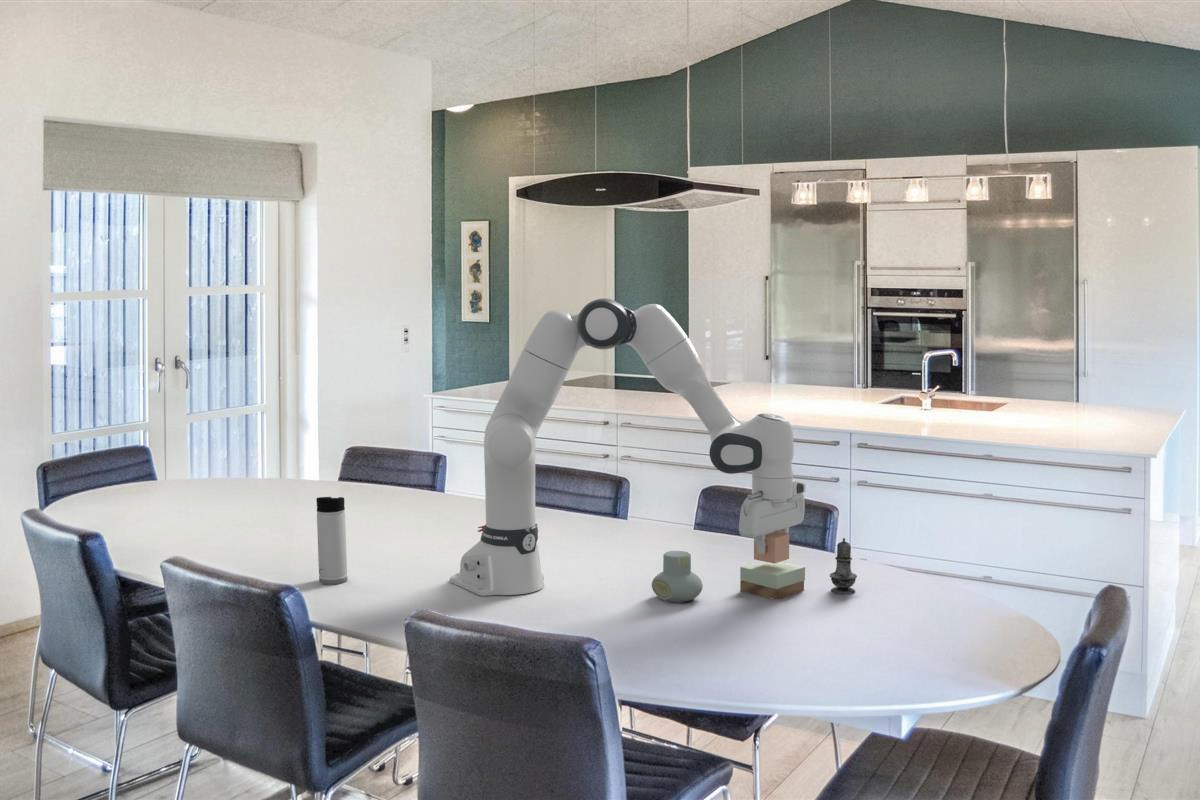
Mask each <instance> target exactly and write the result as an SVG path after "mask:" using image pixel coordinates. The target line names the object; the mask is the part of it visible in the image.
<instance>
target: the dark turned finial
mask: <svg viewBox="0 0 1200 800" xmlns="http://www.w3.org/2000/svg"><path fill="white" fill-rule="evenodd" d="M836 547H837V548H836V556H835V561H836V568H835V571H834V572H831V573H830V574H829V577H830V581H831V582H832V584H833V585H834V587H832V588H831V589H830V592H831V593H833V594H836V595H844V596H845V595H847V596H848V595H854V594H855V593H856V590H855V589H853V587H852V586H854V585H855V583H856V579H857V578H858V574H856V573H853V572H852V568H851V561H852V560H853V558H852V557H851V551H852V550H851V544H850V543H849V542H847V541H846V538H845V537H842V541H840V542H838V543H837V545H836Z"/></svg>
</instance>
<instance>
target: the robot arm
mask: <svg viewBox="0 0 1200 800" xmlns="http://www.w3.org/2000/svg"><path fill="white" fill-rule="evenodd" d="M625 344H626V345H628V346H630V347H632V348H633V349H634V350H635V352H636V354H638V355H639V356H640V359H641V360H642V362H643V363H644V365H645V367H647V369H648V371H649V373H650V374H651V375H652V376H653V377H654V379H656V381H657V382H658V383H659V384H660V385H661V386H662V387H663V388H664V389H666V390H667V391H670V392H672V393H675V394H676V395H679V396H680V397H682V398H683V399H684V400H686V401H687V402H688V404H689V405H690V406H691V408H692V409H693V411H694V412H695V414H696V415H697V417H698V418H699V420H701V422H702V424H703V425H704V426H705V428H706V429H707V431H708V433H709V436H710V439H711V444H710V446H709V458H710V459H709V460H710V461H711V464H712V465H713V466H714V468H715V469H717V470H718V471H719V472H721V473H724V474H730V475H734V474H741V473H746V472H752V473H751V477H752V478H751V493H749V494H747V495H746V498H745V499H744V500H743V502H742V504H741V507H740V512H739V513H740V514H739V522H738V524H739V525H738V531H739V534H740V536H741V537H745V538H751V539H753V541H754V540H755V542H756V544H757V552H758V553H759V554H765V553H767V552H768V550H767V549H768V545H765V542H764V539H765V537H766V534H768V533H771V532H779V533H785V534H789V532H790V527H794V526H798V525H800V524H802V523H803V521H804V518H805V508H806V507H805V499H806V498H805V495H804V493H806V486H807V485H806V483H805V482H801V481H797V480H795V479H794V472H793V468H792V463H793V459H794V431H793V427H792V424H791V423H790V421H789V420H788V419H787V418H785V417H783V416H780V415H777V414H772V413H758V414H756V415H755V416H754V417H752V418H751V419H750V420H748V421H745V422H744V423H743V422H742V421H740V420H738V419H737V418H736V417H735V416H734V415H732V413H731V412H730V411H729V409H728V408H727V406H726V405H725V403H724V402H723V401H722V399H721V398H720V396H719V395H718V393H717V392H716V391H715V389H714V388H713V385H711V382H710V380H709V378H708V376H707V374H706V371H705V368H704V366H703V362H702V361H701V359H700V356H699V354H698V352H697V350H696V348H695V346H694V344H693V343H692V341H691V339H690V338H689V337H688V335H687V334H686V332H685V330H683V328H682V327H681V325H680V324H679V322H677V321H676V319H675V318H674V317H673V316H672V315H671V314H670V312H669V311H667V309H665V308H664V307H663V306H662V305H660V304H657V303H649V304H645V305H642V306H640V307H638V308H637V309H635V310H632V309H629V308H627V307H626V306H625V307H624V306H623V305H622V304H621V303H620V302H618V301H617V300H614V299H611V298H606V297H605V298H603V297H602V298H597V299H595V300H593V301H590V302H589V303H587V304H585V306H583V308H582V309H581V310H580V312H578V313H575V314H571V313H568V312H566V311H563V310H557V309H556V310H550V311H547V312H545V313H544V314H543V316H542V317H541V318H540V320H538V322H537V324H536V325H535V327H534V328H533V330H532V332H531V333H530V335H529V337H528V338H527V341H526V343H525V344H524V347H523V349H522V351H521V353H520V355H519V356H518V357H519V358H518V360H517V362H516V364H515V366H514V368H513V370H512V373H511V375H510V377H509V379H508V381H507V383H506V385H505V387H504V389H503V392H502V393H501V395H500V398H499V399H498V401H497V403H496V405H495V407H494V409H493V411H492V413H491V416H490V418H489V420H488V422H487V424H486V425H485V429H484V438H483V452H484V453H483V456H484V457H483V459H484V489H485V490H484V491H485V492H484V493H485V496H484V497H485V525H480V526H478V527H477V529H478V530H477V533H480V532H481V536H480V540H479V541H478V542H477V543H475V544H474V545H473V546H472V547H470V549H468V550H467V551H466V552H465V553H463V555H462V557H461V559H460V565H459V566H460V568H459V572H458V573H455V574H453V575H451V576H450V577H449V583H452V584H453V585H456V586H458V587H461V588H463V589H465V590H466V591H467V590H468V591H470V592H471V593H473V594H476V595H478V596H482V597H483V596H485V597H486V596H497V595H498V596H500V595H501V596H513V595H515V596H517V595H524V594H530V593H534V592H537V591H540V590H541V589H543V587H544V586H545V584H544V579H545V577H544V573H542V569H541V559H540V552H539V546H538V543H537V542H538V539H539V529H538V528H539V527H538V523H536V436H537V434H538V433H539V431H540V429H541V426H542V425H543V422H544V421H545V419H546V418H547V415H548V414H549V412H550V410H551V408H552V406H553V404H554V403H555V401H556V399H557V397H558V394H559V393H560V390H561V388H562V386H563V383H564V381H565V379H566V377H567V375H568V373H569V371H570V369H571V366H572V365H573V362H574V360H575V357H576V356H577V354H578V353H579V352H580V350H581V349H583V348H584V347H586V346H589V347H592V348H594V349H597V350H611V349H615V348H616V347H617V346H621V345H625Z"/></svg>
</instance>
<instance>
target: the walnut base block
mask: <svg viewBox="0 0 1200 800" xmlns="http://www.w3.org/2000/svg"><path fill="white" fill-rule="evenodd" d="M739 583H740V584H739V587H740V588H739V589H740V590H739V592H741V593H745V594H749V595H754V596H759V597H762V598H763V597H764V598H768V599H771V600H776V601H780V600H784V599H785V598H788V597H790V596H793V595H796V594H798V593H800V592H803V591H804V590H805V580H804V581H801V582H798V583H795V584H791V585H788V586H785V587H782V588H779V589H774V588H770V587H766V586H762V585H758V584H754V583H750V582H746V581H742V580H739Z"/></svg>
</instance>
